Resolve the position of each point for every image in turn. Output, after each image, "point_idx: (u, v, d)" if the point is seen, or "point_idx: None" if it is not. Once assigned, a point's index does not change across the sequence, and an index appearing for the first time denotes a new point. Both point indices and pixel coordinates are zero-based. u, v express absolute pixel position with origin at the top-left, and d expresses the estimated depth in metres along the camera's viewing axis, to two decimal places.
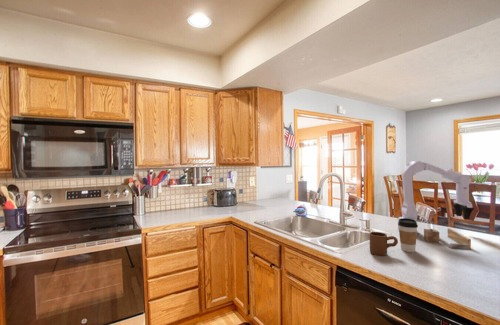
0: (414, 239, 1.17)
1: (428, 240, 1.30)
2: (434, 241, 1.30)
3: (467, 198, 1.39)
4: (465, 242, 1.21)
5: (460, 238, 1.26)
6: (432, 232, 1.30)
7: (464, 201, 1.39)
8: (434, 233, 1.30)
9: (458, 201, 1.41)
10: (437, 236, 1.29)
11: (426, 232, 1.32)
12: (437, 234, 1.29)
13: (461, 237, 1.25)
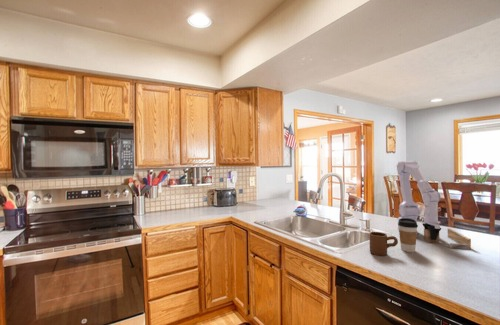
0: (414, 239, 1.17)
1: (428, 240, 1.30)
2: (434, 241, 1.30)
3: (435, 218, 1.29)
4: (465, 242, 1.21)
5: (460, 238, 1.26)
6: None
7: (432, 221, 1.29)
8: None
9: (426, 221, 1.31)
10: (437, 236, 1.29)
11: (426, 232, 1.32)
12: None
13: (461, 237, 1.25)
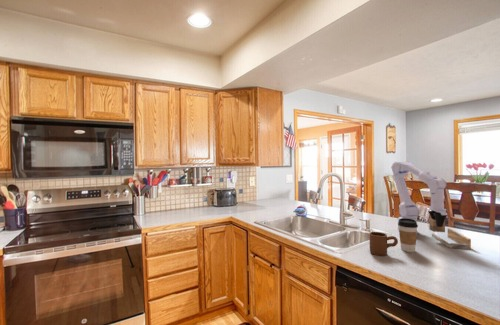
0: (414, 239, 1.17)
1: (433, 229, 1.30)
2: (440, 230, 1.29)
3: (442, 205, 1.29)
4: (465, 242, 1.21)
5: (460, 238, 1.26)
6: None
7: (438, 208, 1.29)
8: None
9: (432, 208, 1.31)
10: (443, 225, 1.29)
11: (431, 221, 1.31)
12: (443, 223, 1.29)
13: (461, 237, 1.25)
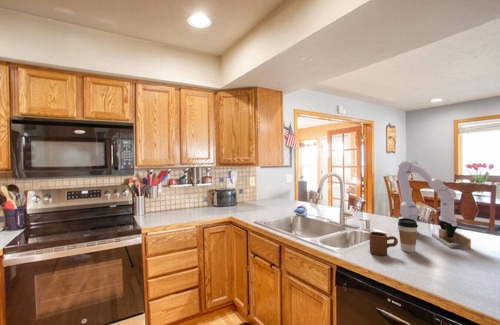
0: (414, 239, 1.17)
1: None
2: (450, 241, 1.29)
3: (452, 215, 1.29)
4: (465, 242, 1.21)
5: (460, 238, 1.26)
6: None
7: (449, 218, 1.29)
8: None
9: (443, 218, 1.31)
10: (453, 236, 1.29)
11: (441, 232, 1.31)
12: None
13: (461, 237, 1.25)
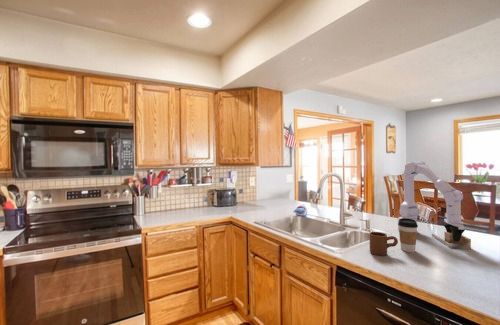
0: (414, 239, 1.17)
1: None
2: None
3: (459, 218, 1.23)
4: (465, 242, 1.21)
5: None
6: None
7: (455, 221, 1.23)
8: None
9: (449, 221, 1.25)
10: None
11: (447, 235, 1.26)
12: None
13: None
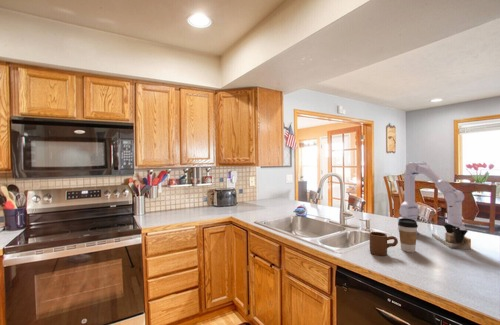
0: (414, 239, 1.17)
1: None
2: None
3: (460, 218, 1.22)
4: (465, 242, 1.21)
5: None
6: None
7: (456, 222, 1.22)
8: None
9: (450, 222, 1.24)
10: None
11: (448, 236, 1.25)
12: None
13: None
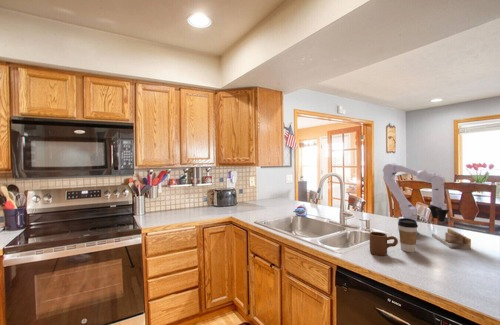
0: (414, 239, 1.17)
1: None
2: None
3: (442, 200, 1.36)
4: (465, 242, 1.21)
5: None
6: (455, 236, 1.23)
7: (439, 203, 1.36)
8: (457, 237, 1.23)
9: (433, 203, 1.38)
10: (460, 240, 1.22)
11: (448, 236, 1.25)
12: (460, 238, 1.22)
13: None
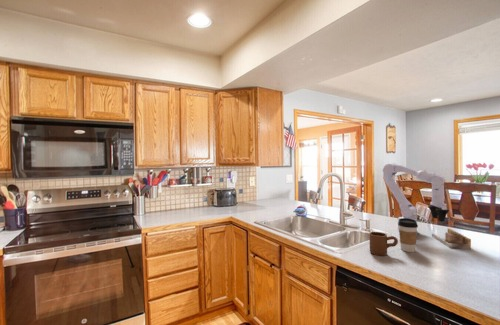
0: (414, 239, 1.17)
1: None
2: None
3: (442, 200, 1.36)
4: (465, 242, 1.21)
5: None
6: (455, 236, 1.23)
7: (439, 203, 1.36)
8: (457, 237, 1.23)
9: (433, 203, 1.38)
10: (460, 240, 1.22)
11: (448, 236, 1.25)
12: (460, 238, 1.22)
13: None
